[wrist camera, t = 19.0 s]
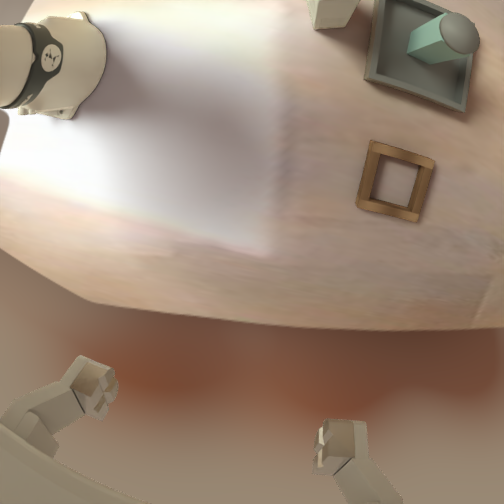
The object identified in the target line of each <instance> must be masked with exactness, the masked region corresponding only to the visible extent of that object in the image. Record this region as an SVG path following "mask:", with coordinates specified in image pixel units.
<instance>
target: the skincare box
mask: <svg viewBox="0 0 504 504" xmlns="http://www.w3.org/2000/svg"><path fill="white" fill-rule="evenodd" d="M359 1H360V0H306V2H307V6H308V9H309V13H310V17H311V21H312V25H313V29H314V30H317V29H328V28H340V27H345V26H346V25H347V23H348V21H349V19H350V17H351V16H352V14H353V12H354V10H355V8H356V7H357V5H358V3H359Z"/></svg>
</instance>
